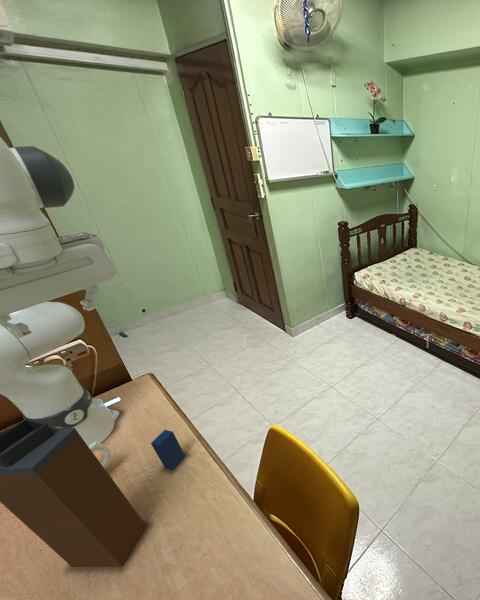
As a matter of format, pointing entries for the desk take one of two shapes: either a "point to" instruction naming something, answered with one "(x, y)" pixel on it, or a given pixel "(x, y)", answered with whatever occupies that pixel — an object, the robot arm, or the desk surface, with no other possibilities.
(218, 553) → the desk surface
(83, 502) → the tall brown bin
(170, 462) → the small dark blue block
